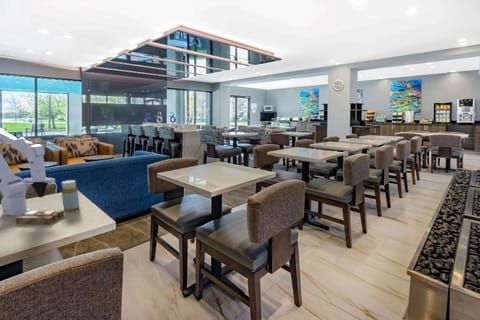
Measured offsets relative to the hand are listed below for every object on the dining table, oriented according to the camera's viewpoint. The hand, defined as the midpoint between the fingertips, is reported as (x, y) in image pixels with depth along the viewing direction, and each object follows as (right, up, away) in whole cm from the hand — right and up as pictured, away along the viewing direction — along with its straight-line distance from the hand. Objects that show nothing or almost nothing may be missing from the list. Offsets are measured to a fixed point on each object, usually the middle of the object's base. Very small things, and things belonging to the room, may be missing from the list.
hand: (41, 196), depth 138 cm
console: (+3, -10, -4) cm, 12 cm away
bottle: (+9, -8, +9) cm, 15 cm away
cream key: (-1, -10, -4) cm, 11 cm away
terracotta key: (+7, -10, -5) cm, 13 cm away
